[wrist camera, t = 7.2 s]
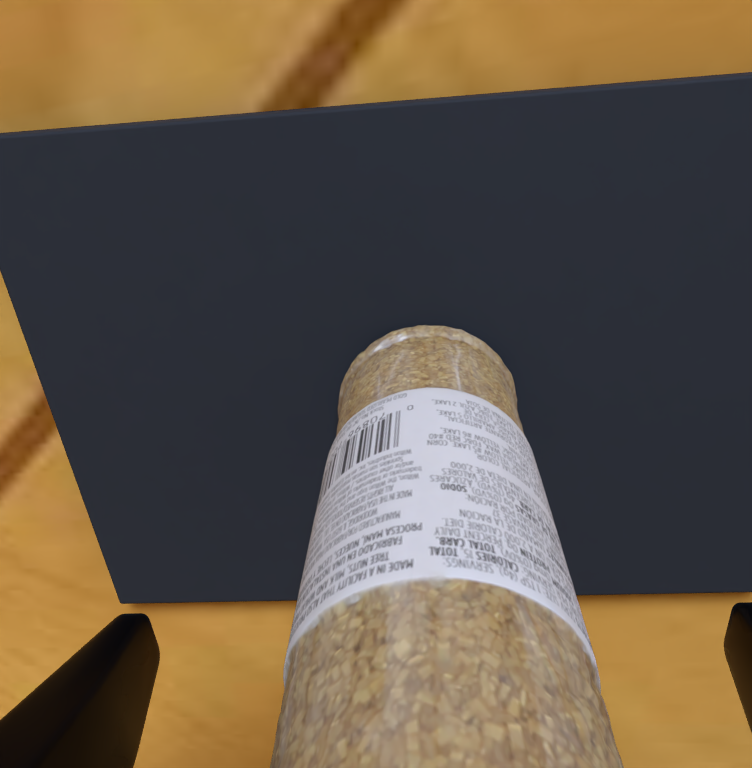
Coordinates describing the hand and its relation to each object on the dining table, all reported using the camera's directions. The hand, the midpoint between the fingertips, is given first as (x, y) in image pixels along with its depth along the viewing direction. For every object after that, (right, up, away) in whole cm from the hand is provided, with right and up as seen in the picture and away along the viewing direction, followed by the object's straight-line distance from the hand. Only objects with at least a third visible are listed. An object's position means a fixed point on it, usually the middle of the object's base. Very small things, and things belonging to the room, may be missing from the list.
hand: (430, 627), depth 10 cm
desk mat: (0, +4, +7) cm, 8 cm away
